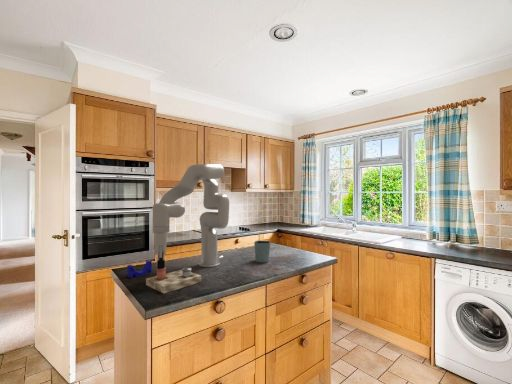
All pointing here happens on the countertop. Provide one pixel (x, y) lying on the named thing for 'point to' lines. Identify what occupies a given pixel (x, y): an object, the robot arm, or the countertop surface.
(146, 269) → the cable clip
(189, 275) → the grey plug
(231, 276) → the countertop surface
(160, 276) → the red plug
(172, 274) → the board
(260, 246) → the drinking glass
